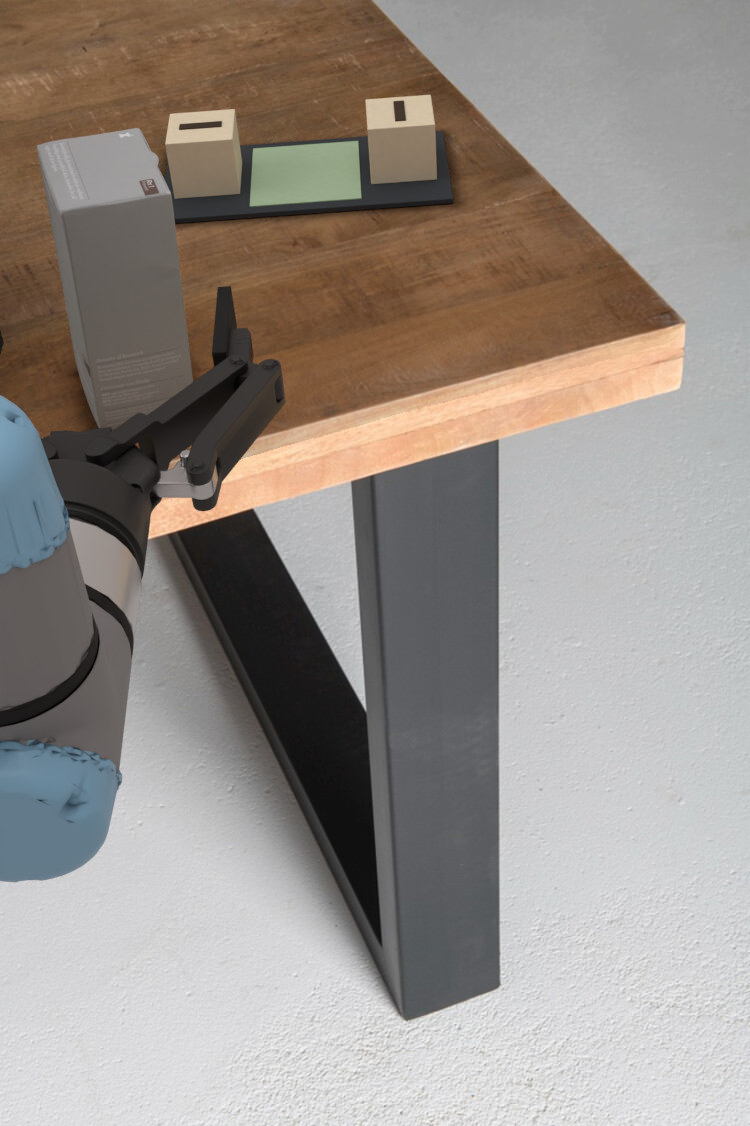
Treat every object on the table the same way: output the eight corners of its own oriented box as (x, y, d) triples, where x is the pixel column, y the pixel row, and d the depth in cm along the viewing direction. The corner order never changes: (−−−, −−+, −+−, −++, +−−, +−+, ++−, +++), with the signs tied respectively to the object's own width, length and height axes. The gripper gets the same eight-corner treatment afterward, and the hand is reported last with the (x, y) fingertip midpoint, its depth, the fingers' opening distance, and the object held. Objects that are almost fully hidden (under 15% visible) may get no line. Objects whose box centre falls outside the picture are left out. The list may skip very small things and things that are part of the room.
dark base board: (159, 224, 106) (148, 163, 102) (169, 155, 114) (159, 95, 110) (453, 203, 105) (451, 140, 102) (442, 135, 113) (441, 75, 110)
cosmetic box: (75, 367, 93) (19, 142, 82) (181, 341, 94) (140, 117, 83) (100, 441, 87) (43, 209, 76) (212, 412, 88) (172, 181, 77)
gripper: (-178, 642, 68) (-88, 383, 84) (336, 608, 68) (331, 354, 83) (-233, 527, 63) (-126, 273, 79) (322, 489, 63) (320, 241, 78)
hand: (109, 314), depth 81 cm, fingers open, 13 cm apart
